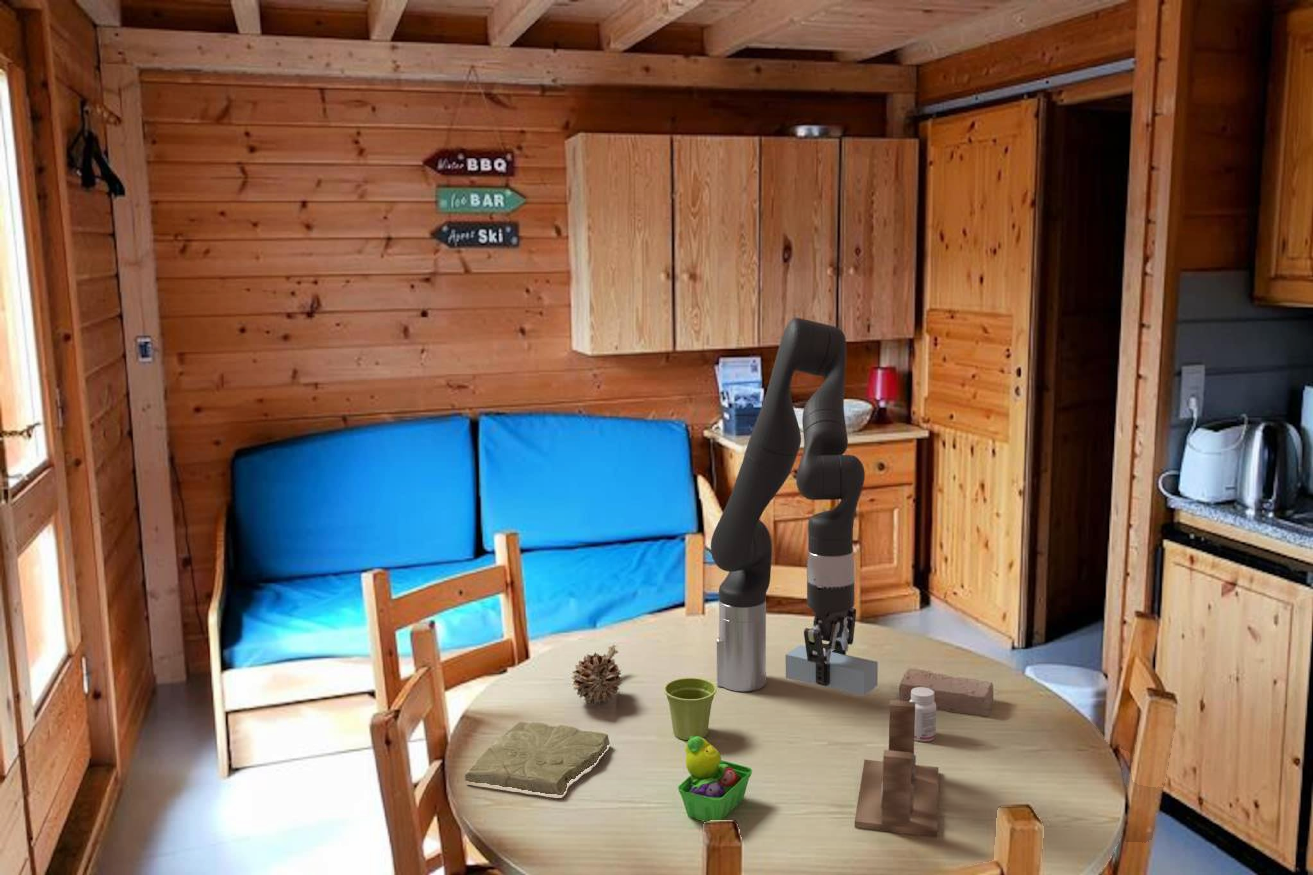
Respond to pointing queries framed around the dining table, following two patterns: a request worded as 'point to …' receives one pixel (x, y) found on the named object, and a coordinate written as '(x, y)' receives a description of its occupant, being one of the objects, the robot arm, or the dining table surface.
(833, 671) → the block
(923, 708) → the pill bottle
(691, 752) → the fruit basket
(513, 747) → the decorative tile
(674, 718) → the plant pot
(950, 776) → the dining table surface
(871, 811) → the peg stand
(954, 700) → the brick
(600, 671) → the pine cone
